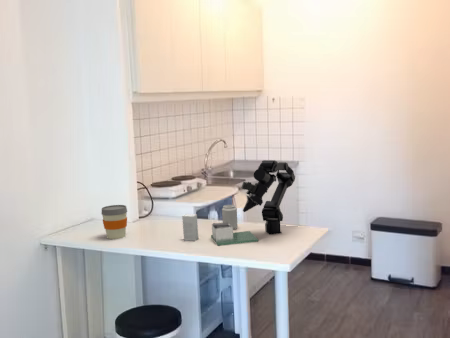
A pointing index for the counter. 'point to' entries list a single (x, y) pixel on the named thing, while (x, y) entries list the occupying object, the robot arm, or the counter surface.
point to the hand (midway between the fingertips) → (243, 211)
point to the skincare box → (190, 227)
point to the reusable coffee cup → (115, 221)
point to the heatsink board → (239, 238)
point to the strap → (220, 224)
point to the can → (230, 215)
